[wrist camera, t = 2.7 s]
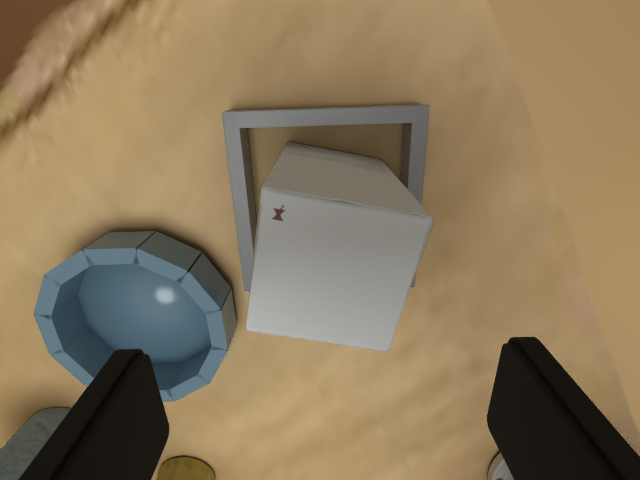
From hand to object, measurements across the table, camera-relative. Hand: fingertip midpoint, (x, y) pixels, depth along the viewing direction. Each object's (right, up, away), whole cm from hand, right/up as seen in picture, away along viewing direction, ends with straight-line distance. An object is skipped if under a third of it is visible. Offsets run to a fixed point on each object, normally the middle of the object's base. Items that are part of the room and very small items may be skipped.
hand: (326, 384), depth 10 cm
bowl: (-14, -2, +21) cm, 26 cm away
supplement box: (0, +7, +18) cm, 19 cm away
